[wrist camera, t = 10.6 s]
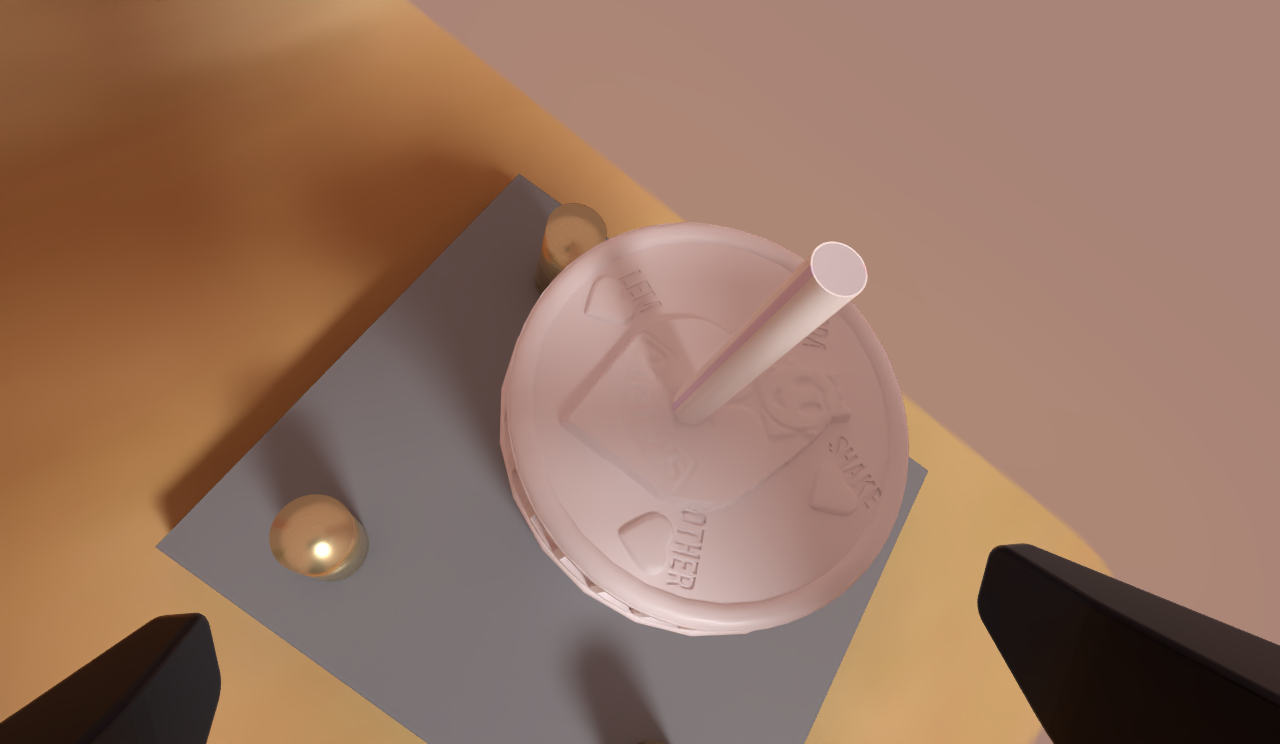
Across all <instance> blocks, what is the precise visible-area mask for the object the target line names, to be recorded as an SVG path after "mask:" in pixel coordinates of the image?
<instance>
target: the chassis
mask: <svg viewBox="0 0 1280 744" xmlns="http://www.w3.org/2000/svg"><path fill="white" fill-rule="evenodd" d="M606 236H607V230H606V226H605V223H604V221H603V219H602V218H601V216H600V215H599V214H598V213H597V212H596V211H594V210H593V209H592V208H590V207H588V206H585V205H582V204H577V203H570V204H564V205H562V204H560V203H559V202H557V201H556V200H555V199H553V198H552V197H551V196H549V195H548V194H546V193H545V192H544V191H542V190H541V189H540V188H538V187H537V186H535V185H534V184H533V183H531V182H530V181H529V180H527V179H526V178H524V177H523V176H522V175H520V174H518V176H517V177H516V178H515V179H514V180H513V181H512V182H511V183H510V184H509V185H508V186H507V187H506V188H505V189H504V190H503V191H502V192H501V193H500V194H499V195H498V196H497V197H496V198H495V199H494V200H493V201H492V202H491V203H490V204H489V205H488V206H487V207H486V208H485V209H484V210H483V211H482V212H481V213H480V214H479V215H478V217H477V218H476V219H475V220H474V221H473V222H472V223H471V224H470V225H469V226H468V227H467V228H466V229H465V230H464V231H463V232H462V233H461V234H460V235H459V236H458V237H457V238H456V239H455V240H454V241H453V242H452V243H451V244H450V245H449V246H448V247H447V248H446V249H445V250H444V251H443V252H442V253H441V254H440V255H439V256H438V258H437V259H436V260H435V261H434V262H433V263H432V264H431V265H430V266H429V267H428V268H427V269H426V270H425V271H424V272H423V273H422V274H421V275H420V276H419V277H418V278H417V279H416V280H415V281H414V282H413V283H412V284H411V285H410V286H409V287H408V288H407V289H406V290H405V291H404V292H403V293H402V294H401V295H400V296H399V298H398V299H397V300H396V301H395V302H394V303H393V304H392V305H391V306H390V307H389V308H388V309H387V310H386V311H385V312H384V313H383V314H382V315H381V316H380V317H379V318H378V319H377V320H376V321H375V322H374V323H373V324H372V325H371V326H370V327H369V328H368V329H367V330H366V331H365V332H364V333H363V334H362V335H361V336H360V337H359V339H358V340H357V341H356V342H355V343H354V344H353V345H352V346H351V347H350V348H349V349H348V350H347V351H346V352H345V353H344V354H343V355H342V356H341V357H340V358H339V359H338V360H337V361H336V362H335V363H334V364H333V365H332V366H331V367H330V368H329V369H328V370H327V371H326V372H325V373H324V374H323V375H322V376H321V377H320V379H319V380H318V381H317V382H316V383H315V384H314V385H313V386H312V387H311V388H310V389H309V390H308V391H307V392H306V393H305V394H304V395H303V396H302V397H301V398H300V399H299V400H298V401H297V402H296V403H295V404H294V405H293V406H292V407H291V408H290V409H289V410H288V411H287V412H286V413H285V414H284V415H283V416H282V417H281V418H280V420H279V421H278V422H277V423H276V424H275V425H274V426H273V427H272V428H271V429H270V430H269V431H268V432H267V433H266V434H265V435H264V436H263V437H262V438H261V439H260V440H259V441H258V442H257V443H256V444H255V445H254V446H253V447H252V448H251V449H250V450H249V451H248V452H247V453H246V454H245V455H244V456H243V457H242V458H241V459H240V461H239V462H238V463H237V464H236V465H235V466H234V467H233V468H232V469H231V470H230V471H229V472H228V473H227V474H226V475H225V476H224V477H223V478H222V479H221V480H220V481H219V482H218V483H217V484H216V485H215V486H214V487H213V488H212V489H211V490H210V491H209V492H208V493H207V494H206V495H205V496H204V497H203V498H202V499H201V501H200V502H199V503H198V504H197V505H196V506H195V507H194V508H193V509H192V510H191V511H190V512H189V513H188V514H187V515H186V516H185V517H184V518H183V519H182V520H181V521H180V522H179V523H178V524H177V525H176V526H175V527H174V528H173V529H172V530H171V531H170V532H169V533H168V534H167V535H166V536H165V537H164V538H163V539H162V540H161V542H160V543H159V544H158V545H157V546H156V548H158V549H159V550H160V551H162V552H163V553H164V554H166V555H167V556H169V557H170V558H171V559H173V560H174V561H176V562H177V563H178V564H180V565H181V566H182V567H184V568H185V569H187V570H188V571H189V572H191V573H192V574H194V575H195V576H196V577H198V578H199V579H201V580H202V581H203V582H205V583H206V584H207V585H209V586H210V587H212V588H213V589H214V590H216V591H217V592H219V593H220V594H221V595H223V596H224V597H225V598H227V599H228V600H230V601H231V602H232V603H234V604H235V605H237V606H238V607H239V608H241V609H242V610H243V611H245V612H246V613H248V614H249V615H250V616H252V617H253V618H255V619H256V620H257V621H259V622H260V623H261V624H263V625H264V626H266V627H267V628H268V629H270V630H271V631H273V632H274V633H275V634H277V635H278V636H280V637H281V638H282V639H284V640H285V641H286V642H288V643H289V644H291V645H292V646H293V647H295V648H296V649H298V650H299V651H300V652H302V653H303V654H304V655H306V656H307V657H309V658H310V659H311V660H313V661H314V662H316V663H317V664H318V665H320V666H321V667H322V668H324V669H325V670H327V671H328V672H329V673H331V674H332V675H334V676H335V677H336V678H338V679H339V680H341V681H342V682H343V683H345V684H346V685H347V686H349V687H350V688H352V689H353V690H354V691H356V692H357V693H359V694H360V695H361V696H363V697H364V698H365V699H367V700H368V701H370V702H371V703H372V704H374V705H375V706H377V707H378V708H379V709H381V710H382V711H383V712H385V713H386V714H388V715H389V716H390V717H392V718H393V719H395V720H396V721H397V722H399V723H400V724H401V725H403V726H404V727H406V728H407V729H408V730H410V731H411V732H413V733H414V734H415V735H417V736H418V737H420V738H421V739H422V740H424V741H425V742H426V743H428V744H804V743H805V741H806V739H807V736H808V734H809V732H810V730H811V728H812V725H813V723H814V721H815V719H816V717H817V714H818V712H819V710H820V708H821V706H822V703H823V701H824V699H825V697H826V695H827V692H828V690H829V688H830V686H831V684H832V681H833V679H834V677H835V675H836V673H837V670H838V668H839V666H840V664H841V662H842V659H843V657H844V655H845V653H846V651H847V648H848V646H849V644H850V642H851V640H852V637H853V635H854V633H855V631H856V629H857V626H858V624H859V622H860V620H861V618H862V615H863V613H864V611H865V609H866V607H867V604H868V602H869V600H870V598H871V596H872V593H873V591H874V589H875V587H876V585H877V582H878V580H879V578H880V576H881V574H882V571H883V569H884V567H885V565H886V563H887V560H888V558H889V556H890V554H891V552H892V549H893V547H894V545H895V543H896V541H897V538H898V536H899V534H900V532H901V530H902V527H903V525H904V523H905V521H906V519H907V516H908V514H909V512H910V510H911V508H912V505H913V503H914V501H915V499H916V497H917V494H918V492H919V490H920V488H921V486H922V483H923V481H924V479H925V477H926V475H927V472H928V470H926V469H925V468H924V467H922V466H921V465H920V464H918V463H917V462H915V461H914V460H913V459H911V458H910V457H909V460H908V472H907V480H906V486H905V491H904V495H903V500H902V504H901V507H900V510H899V513H898V516H897V519H896V521H895V524H894V526H893V528H892V530H891V533H890V535H889V537H888V539H887V541H886V542H885V544H884V546H883V548H882V549H881V551H880V553H879V554H878V556H877V557H876V558H875V560H874V561H873V562H872V564H871V565H870V567H869V568H868V569H867V570H866V571H865V572H864V574H863V575H862V576H861V577H860V578H859V579H858V580H857V581H856V582H855V583H854V584H853V585H852V586H851V587H850V588H848V589H847V590H846V591H845V592H844V593H843V594H842V595H840V596H839V597H838V598H836V599H835V600H833V601H832V602H830V603H829V604H827V605H826V606H824V607H823V608H821V609H819V610H817V611H815V612H813V613H811V614H809V615H807V616H805V617H803V618H800V619H798V620H795V621H792V622H790V623H787V624H783V625H780V626H776V627H772V628H768V629H762V630H755V631H752V632H749V633H747V634H730V635H709V636H688V635H684V634H680V633H676V632H672V631H668V630H664V629H660V628H656V627H652V626H648V625H644V624H640V623H636V622H634V621H632V620H630V619H629V618H627V617H625V616H624V615H622V614H620V613H618V612H617V611H615V610H613V609H611V608H610V607H608V606H606V605H605V604H603V603H601V602H599V601H598V600H596V599H594V598H592V597H591V596H589V595H587V594H586V593H584V592H583V591H582V590H581V589H580V588H579V587H578V586H577V585H576V584H575V583H574V582H573V581H572V580H571V579H570V578H569V577H568V576H567V575H566V574H565V573H564V572H563V571H562V570H561V569H560V568H559V567H558V566H557V564H556V563H555V562H554V561H553V560H552V559H551V558H550V557H549V556H548V555H547V554H546V553H545V552H544V551H543V550H542V549H541V547H540V545H539V543H538V541H537V540H536V538H535V536H534V534H533V532H532V531H531V529H530V527H529V525H528V524H527V522H526V520H525V518H524V516H523V515H522V513H521V511H520V509H519V507H518V506H517V504H516V502H515V500H514V498H513V495H512V491H511V486H510V482H509V478H508V474H507V470H506V466H505V462H504V458H503V454H502V450H501V446H500V417H501V388H502V385H503V382H504V379H505V375H506V372H507V369H508V366H509V363H510V360H511V357H512V354H513V351H514V348H515V344H516V341H517V339H518V337H519V336H520V333H521V331H522V328H523V326H524V324H525V322H526V320H527V318H528V316H529V314H530V312H531V310H532V308H533V307H534V305H535V304H536V302H537V301H538V299H539V298H540V296H541V295H542V293H543V292H544V291H545V289H546V288H547V287H548V286H549V285H550V283H551V282H552V281H553V280H554V279H555V278H556V277H557V276H558V275H559V274H560V273H561V272H562V271H563V270H564V269H565V268H566V267H567V266H568V265H569V264H570V263H572V262H573V261H574V260H576V259H577V258H578V257H579V256H581V255H582V254H584V253H585V252H587V251H588V250H590V249H592V248H593V247H595V246H596V245H598V244H600V243H602V242H604V241H606V240H608V238H607V237H606Z"/></svg>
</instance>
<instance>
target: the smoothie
mask: <svg viewBox="0 0 1280 744" xmlns="http://www.w3.org/2000/svg"><path fill="white" fill-rule="evenodd" d="M866 282H867V270H866V266H865V264H864V262H863V260H862V258H861V257H860V256H859V255H858V253H857V252H856V251H854V250H853V249H852V248H851V247H849V246H847V245H845V244H843V243H839V242H826V243H823V244H821V245H819V246H818V247H817V248H816V249H815V250H814V251H813V252H812V253H811V254H810V255H809V256H808V257H807V258H806V259H805V260H804V259H803V258H801V257H799V256H798V255H796V254H794V253H793V252H791V251H789V250H788V249H786V248H784V247H782V246H780V245H778V244H776V243H774V242H772V241H769V240H767V239H764V238H762V237H759V236H757V235H754V234H751V233H748V232H744V231H741V230H738V229H734V228H729V227H725V226H720V225H713V224H704V223H666V224H659V225H653V226H647V227H643V228H639V229H635V230H631V231H628V232H626V233H623V234H620V235H617V236H615V237H612V238H610V239H608V240H606V241H604V242H602V243H600V244H598V245H596V246H595V247H593V248H592V249H590V250H588V251H587V252H585V253H584V254H582V255H581V256H579V257H578V258H577V259H576V260H574V261H573V262H572V263H570V264H569V265H568V266H567V267H566V268H565V269H564V270H563V271H562V272H561V273H560V274H559V275H558V276H557V277H556V278H555V279H554V280H553V281H552V282H551V283H550V285H549V286H548V287H547V288H546V289H545V291H544V292H543V293H542V295H541V296H540V298H539V299H538V301H537V302H536V304H535V305H534V307H533V308H532V310H531V312H530V314H529V316H528V318H527V320H526V322H525V324H524V326H523V328H522V331H521V333H520V336H519V337H518V339H517V341H516V344H515V348H514V351H513V354H512V357H511V360H510V363H509V366H508V369H507V372H506V375H505V379H504V382H503V385H502V388H501V417H500V446H501V450H502V454H503V458H504V462H505V466H506V470H507V474H508V478H509V482H510V486H511V491H512V495H513V498H514V500H515V502H516V504H517V506H518V507H519V509H520V511H521V513H522V515H523V516H524V518H525V520H526V522H527V524H528V525H529V527H530V529H531V531H532V532H533V534H534V536H535V538H536V540H537V541H538V543H539V545H540V547H541V549H542V550H543V551H544V552H545V553H546V554H547V555H548V556H549V557H550V558H551V559H552V560H553V561H554V562H555V563H556V564H557V566H558V567H559V568H560V569H561V570H562V571H563V572H564V573H565V574H566V575H567V576H568V577H569V578H570V579H571V580H572V581H573V582H574V583H575V584H576V585H577V586H578V587H579V588H580V589H581V590H582V591H583V592H584V593H586V594H587V595H589V596H591V597H592V598H594V599H596V600H598V601H599V602H601V603H603V604H605V605H606V606H608V607H610V608H611V609H613V610H615V611H617V612H618V613H620V614H622V615H624V616H625V617H627V618H629V619H630V620H632V621H634V622H636V623H640V624H644V625H648V626H652V627H656V628H660V629H664V630H668V631H672V632H676V633H680V634H684V635H688V636H709V635H730V634H747V633H749V632H752V631H755V630H762V629H768V628H772V627H776V626H780V625H783V624H787V623H790V622H792V621H795V620H798V619H800V618H803V617H805V616H807V615H809V614H811V613H813V612H815V611H817V610H819V609H821V608H823V607H824V606H826V605H827V604H829V603H830V602H832V601H833V600H835V599H836V598H838V597H839V596H840V595H842V594H843V593H844V592H845V591H846V590H847V589H848V588H850V587H851V586H852V585H853V584H854V583H855V582H856V581H857V580H858V579H859V578H860V577H861V576H862V575H863V574H864V572H865V571H866V570H867V569H868V568H869V567H870V565H871V564H872V562H873V561H874V560H875V558H876V557H877V556H878V554H879V553H880V551H881V549H882V548H883V546H884V544H885V542H886V541H887V539H888V537H889V535H890V533H891V530H892V528H893V526H894V524H895V521H896V519H897V516H898V513H899V510H900V507H901V504H902V500H903V495H904V491H905V486H906V480H907V472H908V460H909V440H908V426H907V420H906V413H905V407H904V403H903V399H902V395H901V391H900V388H899V385H898V382H897V379H896V376H895V373H894V371H893V368H892V366H891V363H890V361H889V359H888V356H887V354H886V352H885V350H884V348H883V347H882V345H881V343H880V341H879V339H878V337H877V336H876V334H875V333H874V331H873V330H872V328H871V326H870V325H869V323H868V322H867V320H866V319H865V318H864V316H863V315H862V314H861V312H860V311H859V310H858V308H857V307H856V306H855V305H854V304H853V302H851V300H852V299H853V298H854V297H855V296H857V295H858V294H859V293H860V292H861V291H862V290H863V289H864V287H865V285H866Z"/></svg>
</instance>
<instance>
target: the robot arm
mask: <svg viewBox="0 0 1280 744" xmlns="http://www.w3.org/2000/svg"><path fill="white" fill-rule="evenodd" d="M977 604H978V611H979V614H980V617H981V620H982V622H983V623H984V625H985V627H986V629H987V630H988V632H989V634H990V636H991V637H992V639H993V641H994V643H995V644H996V646H997V648H998V650H999V651H1000V653H1001V655H1002V657H1003V658H1004V660H1005V662H1006V664H1007V665H1008V667H1009V669H1010V671H1011V673H1012V674H1013V676H1014V678H1015V680H1016V681H1017V683H1018V685H1019V687H1020V688H1021V690H1022V692H1023V694H1024V695H1025V697H1026V699H1027V701H1028V702H1029V704H1030V706H1031V708H1032V709H1033V711H1034V713H1035V715H1036V716H1037V718H1038V720H1039V721H1040V723H1041V725H1042V726H1043V728H1044V730H1045V731H1046V733H1047V735H1048V736H1049V737H1050V739H1051V741H1052V742H1053V744H1280V645H1277V644H1275V643H1272V642H1270V641H1267V640H1265V639H1262V638H1260V637H1258V636H1255V635H1253V634H1250V633H1248V632H1245V631H1243V630H1240V629H1237V628H1235V627H1233V626H1230V625H1228V624H1225V623H1223V622H1220V621H1218V620H1215V619H1213V618H1211V617H1208V616H1206V615H1203V614H1201V613H1198V612H1196V611H1193V610H1191V609H1188V608H1186V607H1183V606H1181V605H1178V604H1176V603H1173V602H1171V601H1169V600H1166V599H1164V598H1161V597H1159V596H1156V595H1154V594H1151V593H1149V592H1146V591H1144V590H1141V589H1139V588H1136V587H1134V586H1132V585H1129V584H1127V583H1124V582H1122V581H1119V580H1117V579H1114V578H1112V577H1109V576H1107V575H1104V574H1102V573H1099V572H1097V571H1095V570H1092V569H1090V568H1087V567H1085V566H1082V565H1080V564H1077V563H1075V562H1072V561H1070V560H1067V559H1065V558H1062V557H1060V556H1057V555H1055V554H1053V553H1050V552H1048V551H1045V550H1043V549H1040V548H1038V547H1035V546H1033V545H1030V544H1024V543H1022V544H1009V545H1000V546H997V547H995V548H994V549H993V550H992V551H991V552H990V554H989V557H988V560H987V564H986V568H985V572H984V575H983V579H982V583H981V587H980V591H979V594H978V600H977ZM220 690H221V676H220V670H219V666H218V661H217V657H216V652H215V648H214V643H213V639H212V634H211V630H210V625H209V622H208V620H207V619H206V617H205V616H204V615H202V614H200V613H187V614H175V615H164V616H159V617H156V618H154V619H153V620H151V621H149V622H148V623H146V624H145V625H143V626H142V627H141V628H139V629H138V630H136V631H135V632H133V633H132V634H130V635H129V636H127V637H126V638H124V639H123V640H121V641H120V642H118V643H117V644H116V645H114V646H113V647H111V648H110V649H108V650H107V651H105V652H104V653H102V654H101V655H99V656H98V657H96V658H95V659H94V660H92V661H91V662H89V663H88V664H86V665H85V666H83V667H82V668H80V669H79V670H77V671H76V672H74V673H73V674H72V675H70V676H69V677H67V678H66V679H64V680H63V681H61V682H60V683H58V684H57V685H55V686H54V687H52V688H51V689H50V690H48V691H47V692H45V693H44V694H42V695H41V696H39V697H38V698H36V699H35V700H33V701H32V702H30V703H29V704H28V705H26V706H25V707H23V708H22V709H20V710H19V711H17V712H16V713H14V714H13V715H11V716H10V717H8V718H7V719H5V720H4V721H3V722H1V723H0V744H206V743H207V739H208V736H209V732H210V729H211V725H212V722H213V718H214V715H215V711H216V708H217V705H218V701H219V696H220Z"/></svg>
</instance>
